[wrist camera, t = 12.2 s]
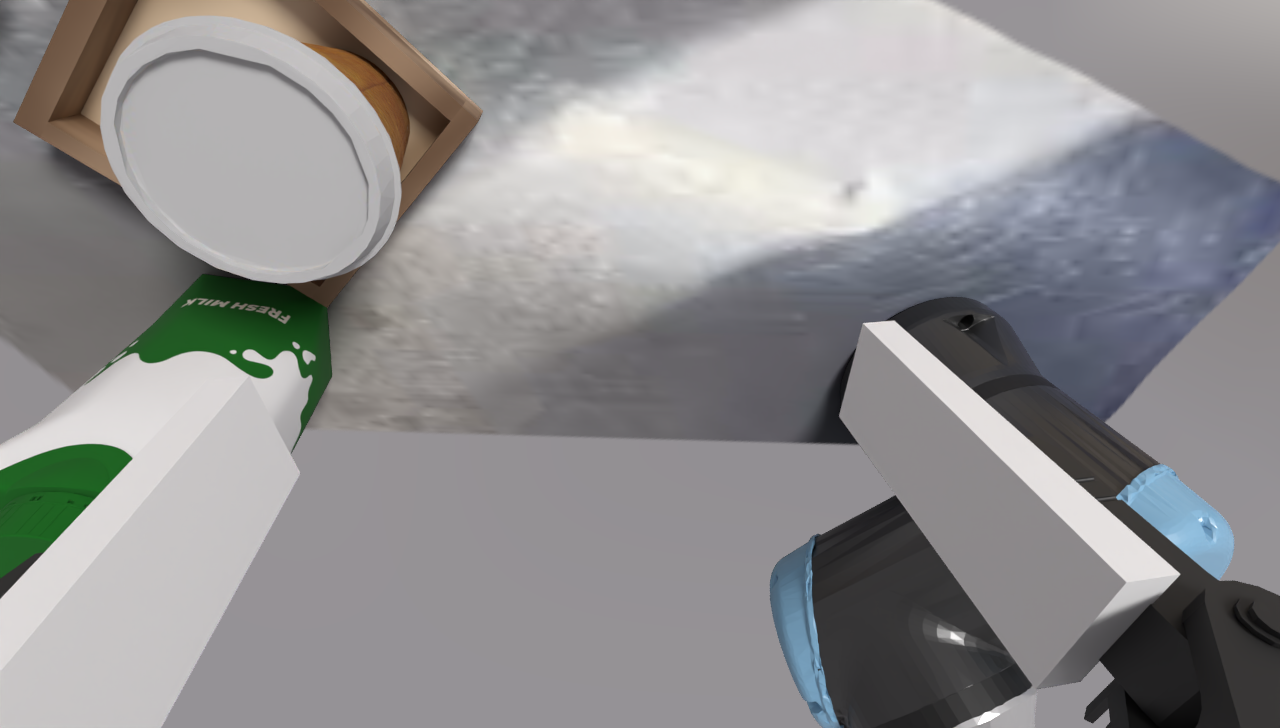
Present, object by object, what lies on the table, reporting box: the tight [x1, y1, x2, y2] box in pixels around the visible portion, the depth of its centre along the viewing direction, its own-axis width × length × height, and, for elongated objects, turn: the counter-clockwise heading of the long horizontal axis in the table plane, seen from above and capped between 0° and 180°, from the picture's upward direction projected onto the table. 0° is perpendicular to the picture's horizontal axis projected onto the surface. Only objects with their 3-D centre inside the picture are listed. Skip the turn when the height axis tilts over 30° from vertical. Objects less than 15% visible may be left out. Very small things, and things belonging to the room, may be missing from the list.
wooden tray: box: [13, 0, 483, 307], centre depth 27 cm, size 15×15×3 cm
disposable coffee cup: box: [100, 15, 410, 284], centre depth 24 cm, size 10×10×12 cm
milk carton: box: [0, 274, 332, 578], centre depth 28 cm, size 9×9×20 cm
